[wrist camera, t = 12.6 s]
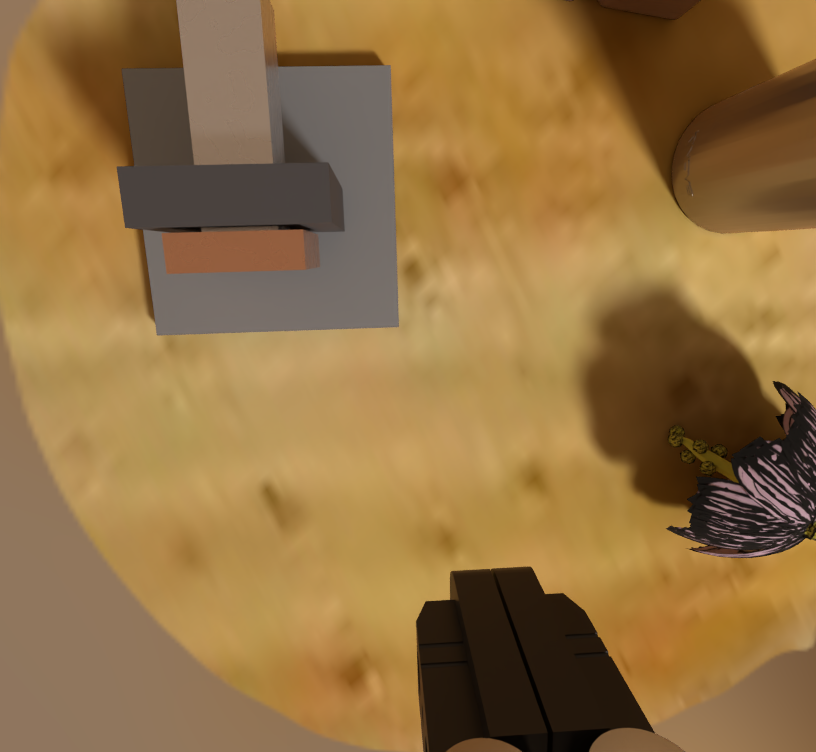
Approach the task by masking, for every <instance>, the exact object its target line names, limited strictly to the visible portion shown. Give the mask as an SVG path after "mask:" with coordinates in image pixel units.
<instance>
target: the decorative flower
mask: <svg viewBox="0 0 816 752" xmlns="http://www.w3.org/2000/svg"><path fill="white" fill-rule="evenodd" d="M773 384H774V386H775V388H776V389H777V391H778V393H779V394H780V395H781V397H782V398H783V399H784V401H785V402H786V403H787V404H786V403H785V404H786V411H785V413H784V414H781V416H776V418H777V420H778V421H779V423H780V425H781V427H782V428H783V430H784V432H785V434H786V436H787V437H786V438H785V439H784V440H781V439H780V438H778V439H776V440H774V441H765V440H764V439H763V438H762V437H761V436H760V437H759V438H757V439H756V440H754V441H753V442H751V443H750V444H748V445H747V446H745V447H744V448H742V449H741V450H740V451H739V452H737V453H734V454H732V456H733V457H734V458H732V459H731V463H730V462H728V461H727V460H725V459H723V458H725V457H726V456H727V455H726V453H727V448H725V447H724V446H723V445H721V444H717V445H715V446H713V447H711V451H710V450H708V449H709V445H708V444H707V442H706V441H704V440H701V439H700V440H696V441H692V440H690V439H688V438H685V437H683V436H684V434H685V433H684V429H683V428H681V427H680V426H674V427H672V428H671V429H670V431H669V433H670V435H669V437H668V443H669V444H670V445H671V446H673V447H680V446H681V445H682V444H683V445H685V446H686V447H687V448H688V449H689V450H685V451H683V452H682V453H680V454H681V455H680V457H681V460H682V461H683V462H685V463H689V464H690V463H694V461H695V458H696V457H697V458H698V459H700V460H701V461H702V463H701V464H700V471H701V472H702V473H703V474H705V475H708V476H711V475H713V473H714V472H716V471H718V472H719V473H721V474H723V475H724V476H726V477H727V478H729V479H731V480H732V481H731V480H726V479H718V478H711V477H696V478H697V481H698V484H697V486H698V491H697V493H696V494H695V495H694V496H692V497H690V498H688V499H687V500H688V501H690V502H691V503H692V504H693V505H692V506H691V507H690V508H689V510H688V512H690V513H691V514H692V516H691V519H690V522H689V523H691V525H690V526H691V527H689V528H687V527H684V528H681V527H673V526H670V527H668V528H667V530H669V531H671V532H673V533H675V534H677V535H680V536H682V537H685V538H687V539H690V540H693V541H696V542H699V543H702V544H705V545H708V546H705V547H701V546H700V547H699V548H692V547H691V548H692V549H690V550H693V551H695V552H700V553H704V554H708V555H714V556H719V557H731V558H753V557H761V556H767V555H771V554H775V553H779V552H783V551H785V550H788V549H790V548H792V547H794V546H796V545H798V544H799V543H800V542H802V541H803V540H804V539H805V538H809V539H810V540H811V539H813V540H816V409H815V408H814V407H813V405H812V404H811V403H810V402H809V401H808V400H807V399H806V398H805V397H803V396H802V395H801V394H800V393H799V392H798V391H797V392H798V394H799V396H798V395H797V394H795V393H794V392H793V391H792V390H791V389H790V388H789V387H788V386H786V385H785V384H783V383H780V382H778V381H777V382H775V381H773ZM733 481H734V482H733ZM687 549H688V548H687Z"/></svg>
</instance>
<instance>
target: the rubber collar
mask: <svg viewBox="0 0 816 752" xmlns="http://www.w3.org/2000/svg"><path fill="white" fill-rule="evenodd" d="M117 172H118V179H119V187H120V194H121V201H122V208H123V215H124V222H125V228H132V229H141V230H151V231H160V232H169V233H185V232H202V231H201V228H205V227H243V226H282V225H286V226H289V227H290V230H299V229H303V230H306V231H309V232H345V226H344V207H343V189H342V187H341V185H340V183H339V181H338V179H337V177H336V176H335V174H334V172H333V170H332V168H331V166H330V164H329V163H328V162H319V163H271V164H222V165H173V166H124V167H117Z"/></svg>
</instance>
